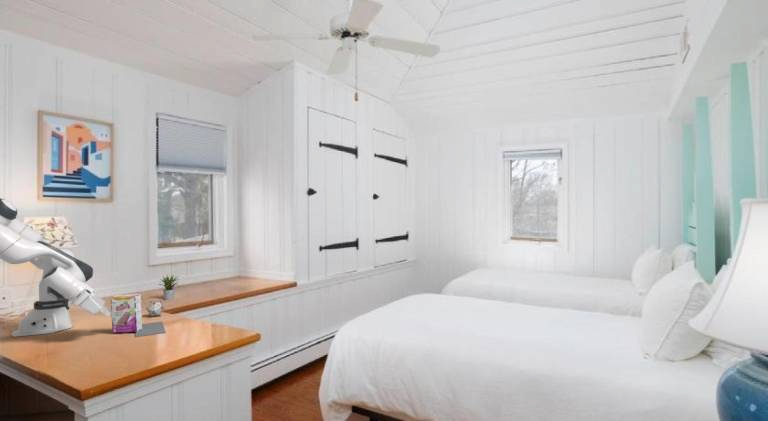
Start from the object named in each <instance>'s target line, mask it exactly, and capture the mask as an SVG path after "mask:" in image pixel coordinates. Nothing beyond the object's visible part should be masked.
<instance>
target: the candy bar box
mask: <svg viewBox="0 0 768 421" xmlns="http://www.w3.org/2000/svg"><path fill="white" fill-rule="evenodd" d="M110 306H111V307H110V310H111V311H110V312H111V328H112V331H111V332H112V334H118V333H122V334H124V333H134V332H135V333H136V332H138V331H140V330H142V324H143V317H142V316H143V315H142V314H143V313H142V295H141V293H136V294H135V293H134V294H116V295H113V296H111V297H110Z"/></svg>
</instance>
